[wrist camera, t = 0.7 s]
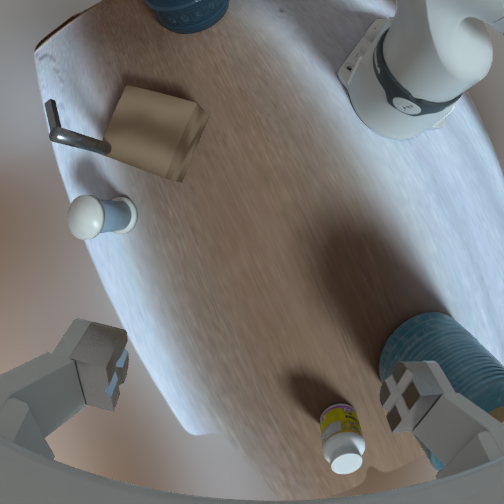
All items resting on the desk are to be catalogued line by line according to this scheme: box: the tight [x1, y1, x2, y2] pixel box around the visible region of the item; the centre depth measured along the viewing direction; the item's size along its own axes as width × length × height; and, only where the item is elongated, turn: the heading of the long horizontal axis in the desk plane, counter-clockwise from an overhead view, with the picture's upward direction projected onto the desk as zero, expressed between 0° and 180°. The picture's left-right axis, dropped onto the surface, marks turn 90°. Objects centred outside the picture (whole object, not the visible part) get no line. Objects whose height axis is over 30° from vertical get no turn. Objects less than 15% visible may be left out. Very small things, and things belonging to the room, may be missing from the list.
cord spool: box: [67, 195, 138, 240], centre depth 44 cm, size 6×6×11 cm
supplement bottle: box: [320, 404, 365, 474], centre depth 43 cm, size 7×7×13 cm
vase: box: [379, 312, 504, 471], centre depth 33 cm, size 16×16×27 cm
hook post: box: [45, 99, 112, 155], centre depth 35 cm, size 2×6×12 cm, turn 23°
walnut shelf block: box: [101, 85, 209, 182], centre depth 44 cm, size 11×12×7 cm
